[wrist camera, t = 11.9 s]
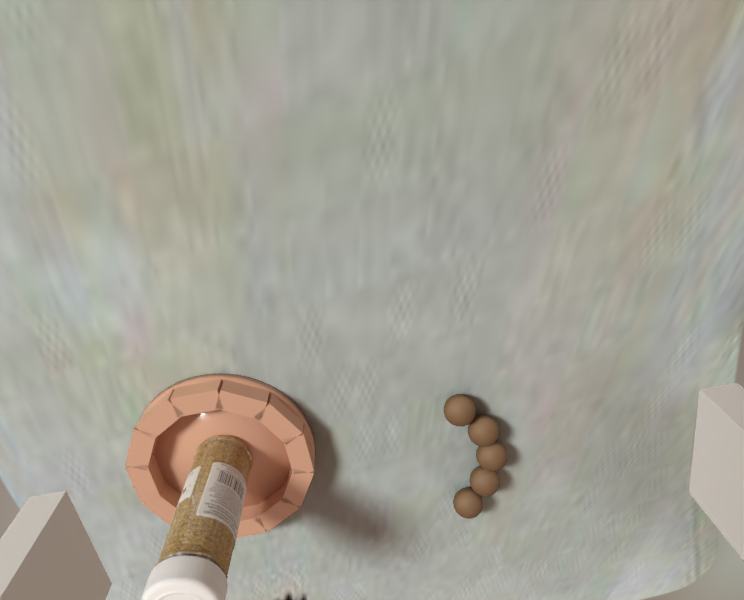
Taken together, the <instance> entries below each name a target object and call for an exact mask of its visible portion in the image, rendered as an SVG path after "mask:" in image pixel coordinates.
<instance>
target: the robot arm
mask: <svg viewBox="0 0 744 600" xmlns="http://www.w3.org/2000/svg"><path fill="white" fill-rule="evenodd" d="M689 493H690V494H691V495H692V497H693V498H694V499H695V500H696V502H697V503H698V504H699V505H700V507H701V508H702V509H703V510H704V512H705V513H706V514H707V515H708V517H709V518H710V519H711V520H712V522H713V523H714V524H715V526H716V527H717V528H718V529H719V531H720V532H721V533H722V534H723V536H724V537H725V538H726V539H727V540H728V542H729V543H730V544H731V545H732V547H733V548H734V549H735V551H736V552H737V553H738V554H739V556H740V557H741V558H742V559H743V561H744V388H743V387H741V386H740V385H739V384H737V383H735V384H729V385H722V386H716V387H710V388H704V389H700V392H699V401H698V411H697V421H696V430H695V440H694V449H693V459H692V469H691V478H690V488H689ZM111 585H112V583H111V581H110V579H109V577H108V575H107V573H106V571H105V569H104V567H103V565H102V563H101V561H100V559H99V557H98V555H97V553H96V551H95V549H94V546H93V544H92V542H91V540H90V538H89V536H88V534H87V532H86V530H85V528H84V526H83V524H82V522H81V520H80V518H79V516H78V514H77V512H76V510H75V508H74V506H73V504H72V502H71V500H70V498H69V496H68V494H67V492H66V491H62V492H56V493H50V494H43V495H37V496H31V497H29V498H28V500H27V501H26V503H25V504H24V506H23V507H22V509H21V510H20V511H19V513H18V514H17V516H16V517H15V519H14V520H13V522H12V523H11V525H10V526H9V527H8V529H7V530H6V532H5V533H4V535H3V536H2V537H1V539H0V600H105V599H106V596H107V594H108V592H109V589H110V587H111Z"/></svg>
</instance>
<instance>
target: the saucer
mask: <svg viewBox="0 0 744 600" xmlns="http://www.w3.org/2000/svg"><path fill="white" fill-rule="evenodd" d="M215 435H228V436H232V437H235V438H238V439H239V440H241V441H242V442H244V443H245V444H246V445H247V446H248V447H249V449H250V451H251V452H252V456H253V465H252V468H251V470H250V472H249V476H248V481H247V485H246V495H245V500H244V505H243V510H242V514H241V519H240V524H239V528H238V533H237V537H242V536H248V535H253V534H259V533H264V532H266V530H267V531H269V530H271V529H272V528H273V527H275V526H276V525H278V524H279V523H280V522H282V521H283V520H284V519H286V518H287V517H289V516H290V515H291V514H293V513H294V512H295V511H297V510H298V509H299V508H300V507H301V505H302V503H303V500H304V498H305V495H306V493H307V490H308V487H309V485H310V482H311V480H312V477H313V475H314V464H315V442H314V437H313V433H312V430H311V427H310V425H309V423H308V421H307V419H306V417H305V416H304V414H303V413H302V412H301V410H300V409H299V408H298V406H297V405H296V404H295V403H294V402H293V401H292V400H291V399H289V398H288V397H287V396H286V395H284V394H283V393H282V392H280V391H279V390H277V389H275V388H274V387H272V386H270V385H268V384H266V383H264V382H261V381H259V380H256V379H253V378H250V377H245V376H240V375H233V374H207V375H200V376H196V377H192V378H188V379H185V380H183V381H180V382H178V383H176V384H174V385H172V386H170V387H168V388H167V389H165V390H164V391H163V392H161V393H160V394H159V395H158V396H156V397H155V398H154V399H153V400H152V401H151V403H150V404H149V405H148V407H147V408H146V409H145V411H144V413H143V414H142V416H141V417H140V419H139V421H138V423H137V425H136V426H135V428H134V431H133V435H132V439H131V444H130V448H129V452H128V456H127V461H126V465H125V466H126V470H127V472H128V475H129V477H130V479H131V481H132V484H133V486H134V488H135V490H136V492H137V495H138V497H139V499H140V501H141V503H142V502H144V503H143V505H144V506H145V507H147V508H148V509H149V510H151V511H152V512H153V513H155V514H156V515H158V516H159V517H160V518H162V519H163V520H164V521H166V522H167V523H169V524H170V525H171V523H172V519H173V516H174V513H175V511H176V508H177V505H178V502H179V499H180V496H181V493H182V491H183V488H184V485H185V482H186V479H187V477H188V475H189V474H190V471H191V468H192V465H193V462H194V455H195V452H196V449H197V448H198V446H199V445H200V444H201V443H202V442H204V441H205V440H206V439H208V438H210V437H213V436H215Z"/></svg>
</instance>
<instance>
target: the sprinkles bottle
mask: <svg viewBox="0 0 744 600" xmlns="http://www.w3.org/2000/svg"><path fill="white" fill-rule="evenodd" d="M252 465H253V456H252V452H251V451H250V449H249V447H248V446H247V445H246V444H245V443H244V442H242V441H241V440H239V439H238V438H235V437H232V436H228V435H215V436H213V437H210V438H208V439H206V440H205V441H204V442H202V443H201V444H200V445H199V446H198V448H197V449H196V452H195V455H194V462H193V465H192V468H191V471H190V474H189V475H188V477H187V479H186V482H185V485H184V488H183V491H182V493H181V496H180V499H179V502H178V505H177V508H176V511H175V513H174V516H173V519H172V523H171V526H170V531H169V534H168V536H167V539H166V542H165V545H164V547H163V550H162V552H161V556H160V559H159V561H158V563H157V564H156V566H155V568H154V569H153V570H152V572H151V573H150V576H149V578H148V581H147V584H146V587H145V590H144V593H143V596H142V600H225V597H226V593H227V574H228V569H229V565H230V561H231V556H232V551H233V549H234V546H235V542H236V538H237V533H238V528H239V524H240V519H241V514H242V510H243V505H244V500H245V495H246V485H247V481H248V476H249V472H250V470H251V468H252Z"/></svg>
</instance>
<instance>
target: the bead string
mask: <svg viewBox="0 0 744 600" xmlns="http://www.w3.org/2000/svg"><path fill="white" fill-rule="evenodd" d="M475 413H476V408H475V405H474V403H473V401H472V400H471V399H470V398H469V397H467V396H465V395H462V394H457V395H453V396H451V397H450V398H449V399H448V400H447V401H446V403H445V405H444V414H445V417H446V419H447V420H448V421H449V422H450V423H451V424H453V425H455V426H465V425H468V424H469V426H468V435H469V437H470V439H471V441H472V442H473V443H474V444H476V445H478V446H479V447H478V449H477V452H476V457H477V461H478V463H479V464H480V466H478V467H476V468H475V469H474V470H473V471H472V473H471V475H470V485H471V487H472V488H463V489H460V490H459V491H458V492H457V493H456V494H455V497H454V501H453V504H454V508H455V510H456V512H457V513H458V514H459V515H460V516H462V517H464V518H474V517H476V516H477V515H479V513H480V512H481V510H482V507H483V501H482V498H481V496H490V495H493V494H494V493H495V492H496V491H497V490H498V488H499V485H500V479H499V475H498V473H497V472H496V471H497V470H499V469H501V468H502V467H503V466H504V465H505V463H506V461H507V452H506V449H505V448H504V446H503V445H502V444H501V443H499V442H498V441H496V440H497V439H498V436H499V427H498V424H497V423H496V421H495V420H494V419H493V418H491V417H489V416H486V415H480V416H477V417H475ZM474 417H475V418H474ZM480 495H481V496H480Z"/></svg>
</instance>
